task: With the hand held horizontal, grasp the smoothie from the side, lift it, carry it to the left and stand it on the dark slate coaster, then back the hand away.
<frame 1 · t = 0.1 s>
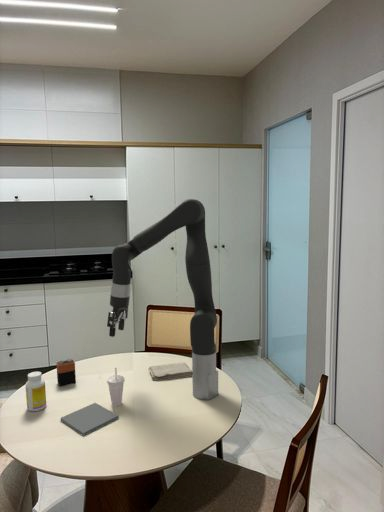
hand: (116, 332, 159), 22 cm above the table, tool pointing down, fingers open, 8 cm apart
coaster: (89, 419, 136), on the table
battery: (66, 383, 165), on the table
washcloth: (170, 374, 173), on the table
smoothie: (116, 403, 147), on the table
supplement bottle: (36, 408, 145), on the table
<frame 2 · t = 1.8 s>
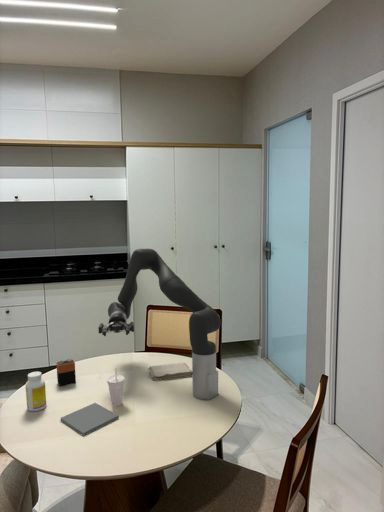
hand: (115, 333, 155), 23 cm above the table, tool horizontal, fingers open, 8 cm apart
nothing on the table moved.
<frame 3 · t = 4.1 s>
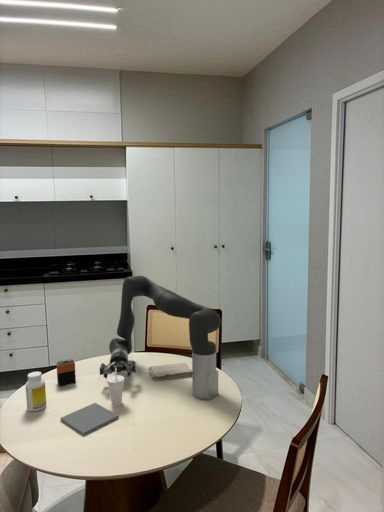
hand: (117, 375, 154), 7 cm above the table, tool horizontal, fingers open, 8 cm apart
nothing on the table moved.
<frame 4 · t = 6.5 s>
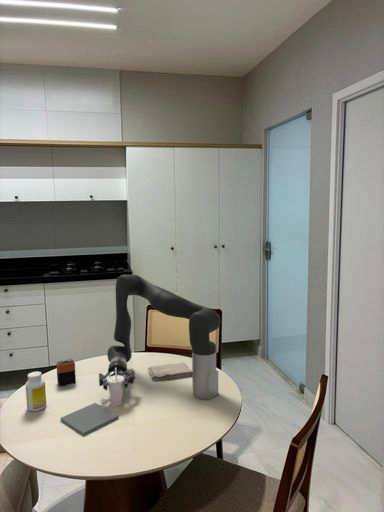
hand: (115, 387, 144), 8 cm above the table, tool horizontal, fingers closed on smoothie, 6 cm apart
smoothie: (116, 403, 147), on the table, touching gripper
everything else where it was.
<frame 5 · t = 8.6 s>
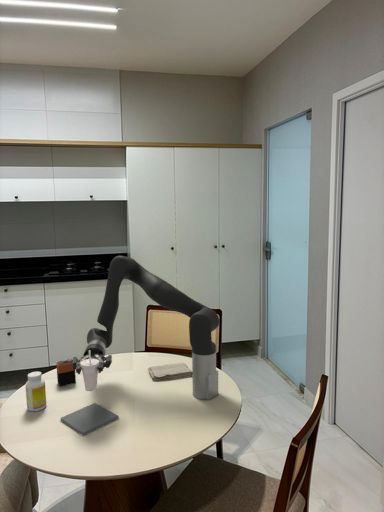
hand: (89, 370, 133), 18 cm above the table, tool horizontal, fingers closed on smoothie, 6 cm apart
smoothie: (91, 389, 137), point 10 cm above the table, touching gripper
everything else where it was.
when the fingers open (9 cm above the table, at t = 10.9 s): smoothie moves 2 cm, resting on coaster.
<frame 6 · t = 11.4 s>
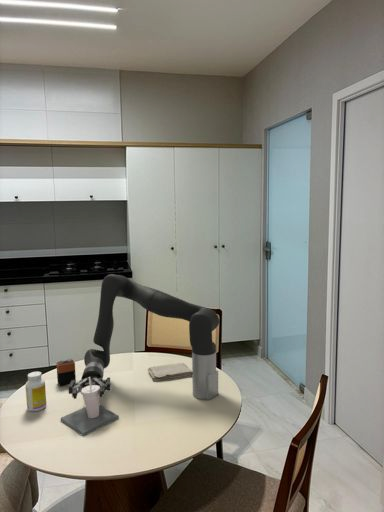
hand: (87, 395, 133), 10 cm above the table, tool horizontal, fingers open, 8 cm apart
smoothie: (93, 415, 137), point 1 cm above the table, touching coaster, gripper
everything else where it was.
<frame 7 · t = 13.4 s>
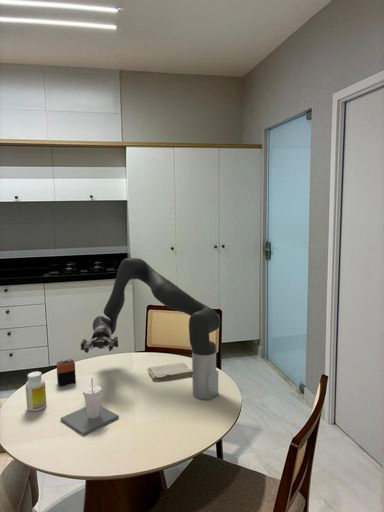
hand: (98, 349, 149), 19 cm above the table, tool horizontal, fingers open, 8 cm apart
smoothie: (93, 416, 137), point 1 cm above the table, touching coaster
everything else where it was.
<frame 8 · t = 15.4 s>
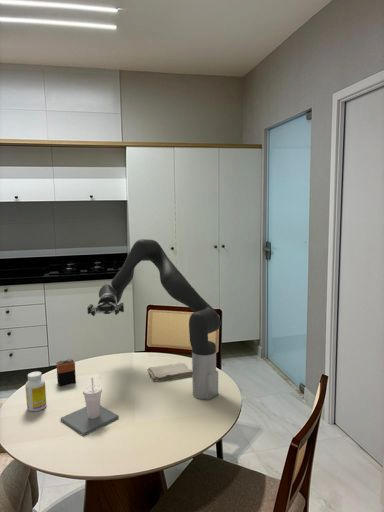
hand: (104, 312, 153), 32 cm above the table, tool horizontal, fingers open, 8 cm apart
nothing on the table moved.
at the end: smoothie 1.4 cm from the coaster (horizontally); smoothie tilted 0°; smoothie touching coaster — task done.
